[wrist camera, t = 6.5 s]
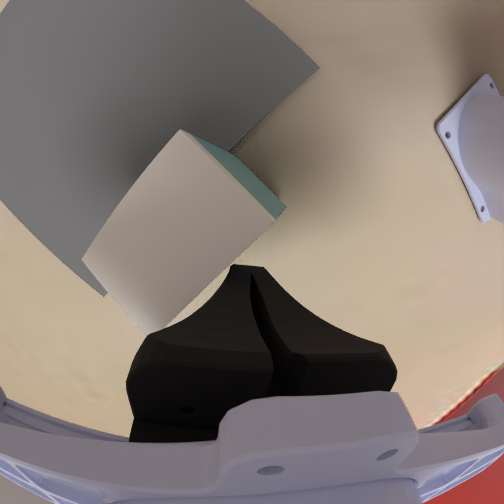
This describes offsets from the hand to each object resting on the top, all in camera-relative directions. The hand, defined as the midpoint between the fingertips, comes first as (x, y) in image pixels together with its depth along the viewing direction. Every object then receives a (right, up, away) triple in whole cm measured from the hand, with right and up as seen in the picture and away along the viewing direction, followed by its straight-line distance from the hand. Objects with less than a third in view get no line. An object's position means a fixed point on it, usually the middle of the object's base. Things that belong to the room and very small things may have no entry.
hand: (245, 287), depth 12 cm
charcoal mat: (-11, +12, +1) cm, 16 cm away
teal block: (-1, +3, +5) cm, 6 cm away
